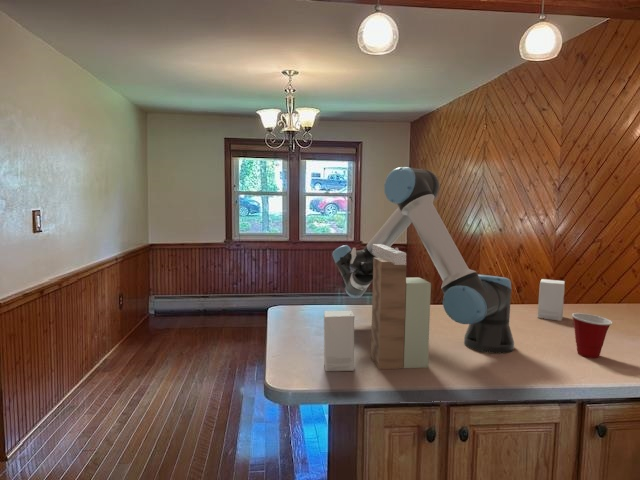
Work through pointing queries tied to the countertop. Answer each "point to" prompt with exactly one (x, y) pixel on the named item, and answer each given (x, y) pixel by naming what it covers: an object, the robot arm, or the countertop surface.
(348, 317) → the skincare box
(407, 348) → the sage dock
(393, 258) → the grey bar
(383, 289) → the block
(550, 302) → the supplement box
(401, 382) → the countertop surface
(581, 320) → the plastic cup
